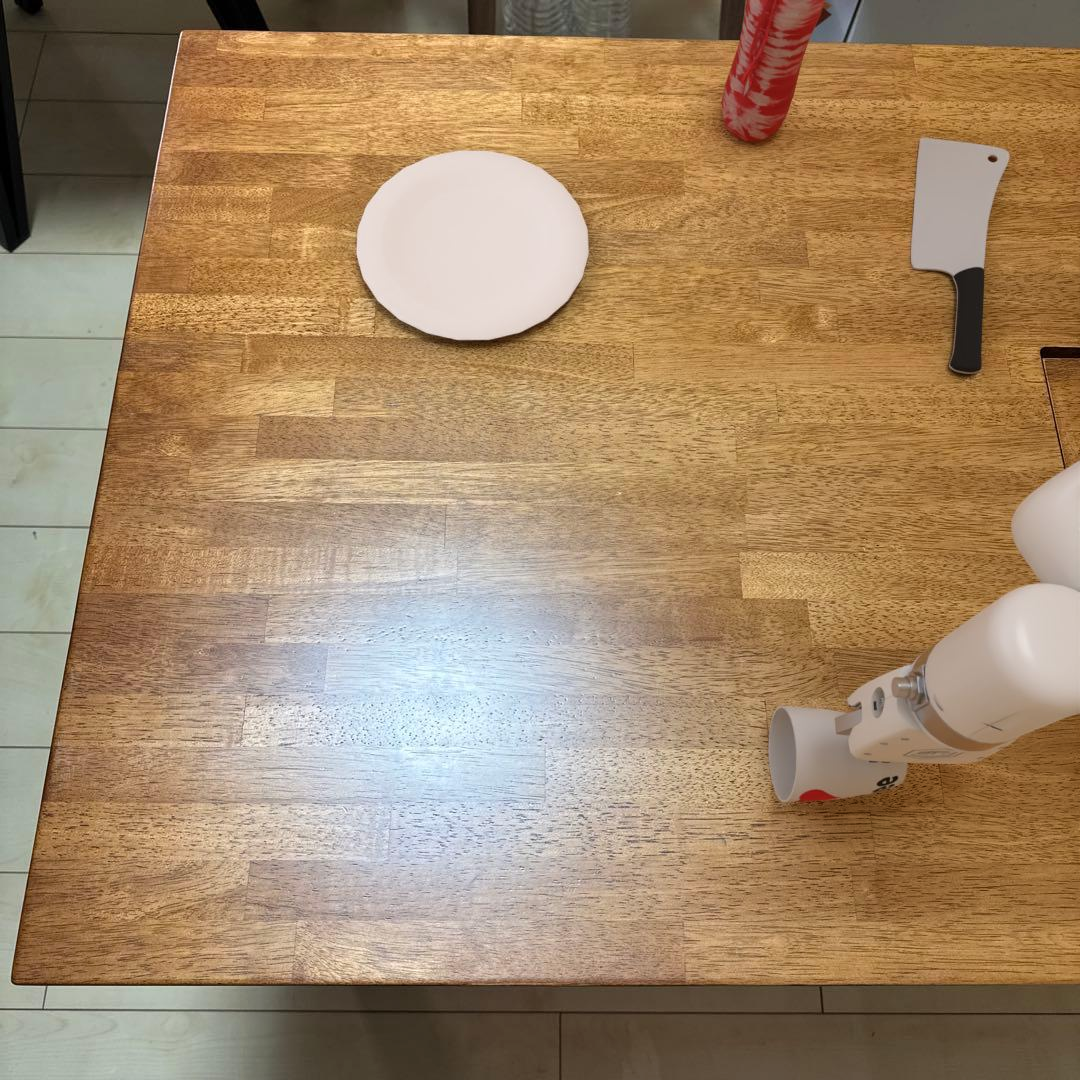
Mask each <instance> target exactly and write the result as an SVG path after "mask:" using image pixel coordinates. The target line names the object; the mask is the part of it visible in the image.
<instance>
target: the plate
mask: <svg viewBox="0 0 1080 1080" xmlns="http://www.w3.org/2000/svg"><path fill="white" fill-rule="evenodd" d="M356 231H357V232H356V233H357V234H356V236H357V237H356V252H355V253H356V258H357V262H358V266H359V269H360V272H361V276H362V279H363V281H364V283H365V285H366V286H367V288H368V289H369V290H370V293H372V295H373V297H374V298H375V300H376V301H377V303H378V304H380V305H381V306H382V307H383V308H384V309H385V310H387V312H388V313H390V314H391V315H392V316H394V317H395V318H396V319H397V320H398V321H400V322H401V323H403V324H406V325H407V326H410V327H411V328H414V329H416V330H418V331H420V332H422V333H424V334H426V335H430V336H434V337H439V338H443V339H447V340H453V341H457V342H478V341H479V342H482V341H483V342H486V341H487V342H488V341H493V340H497V339H502V338H506V337H511V336H516V335H519V334H522V333H524V332H526V331H527V330H529V329H531V328H533V327H535V326H537V325H539V324H542V323H544V322H545V321H547V320H548V319H550V318H551V317H552V316H553V315H554V314H556V313H557V311H558V310H560V309H561V308H562V307H563V306H564V305H565V304H567V303H568V302H569V301H570V299H571V297H572V296H573V294H574V292H575V291H576V289H577V288H578V286H579V284H580V283H581V281H582V280H583V277H584V273H585V270H586V266H587V263H588V258H589V254H590V250H589V232H588V231H589V230H588V226H587V224H586V221H585V219H584V216H583V213H582V211H581V208H580V206H579V204H578V202H577V201H576V200H575V198H574V197H573V196H572V194H571V193H570V192H569V191H568V189H567V188H566V187H565V186H564V184H563V183H561V182H560V181H559V180H557V179H556V178H555V177H554V176H552V175H551V174H549V172H547V171H546V170H544V169H543V168H542V167H540V166H537V165H536V164H534V163H531V162H529V161H526V160H524V159H522V158H520V157H517V156H514V155H509V154H506V153H500V152H496V151H490V150H454V151H450V152H445V153H441V154H436V155H430V156H428V157H425V158H424V159H421V160H419V161H417V162H414V163H412V164H409V165H408V166H406V167H403V168H402V169H401V170H400V171H397V173H396V174H394V175H393V176H391V177H390V178H389V179H388V180H387V181H385V182H384V183H383V184H381V186H380V187H379V188H378V189H377V191H376V192H375V194H374V195H373V196H372V198H371V199H370V200H369V201H368V203H367V204H366V206H365V209H364V211H363V212H362V216H361V219H360V222H359V223H358V227H357V230H356Z"/></svg>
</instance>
